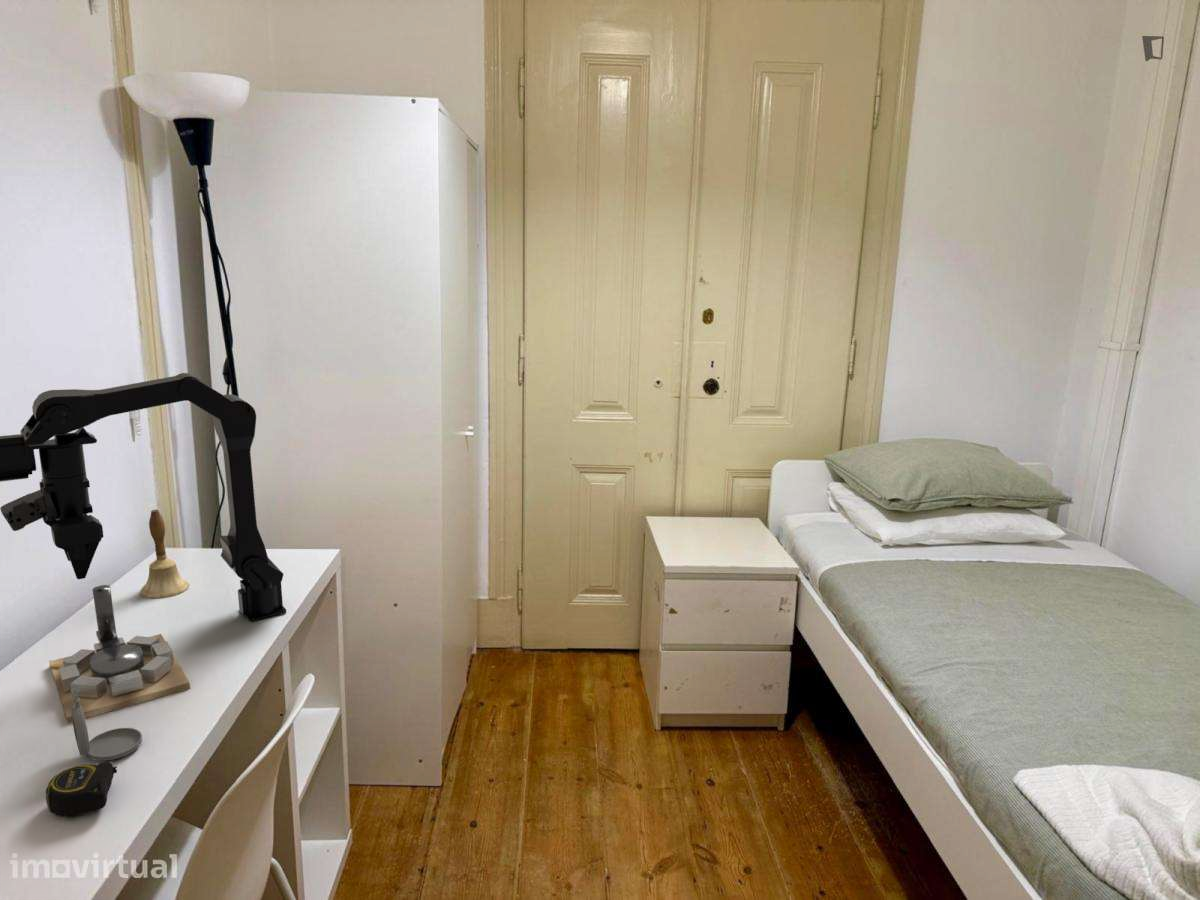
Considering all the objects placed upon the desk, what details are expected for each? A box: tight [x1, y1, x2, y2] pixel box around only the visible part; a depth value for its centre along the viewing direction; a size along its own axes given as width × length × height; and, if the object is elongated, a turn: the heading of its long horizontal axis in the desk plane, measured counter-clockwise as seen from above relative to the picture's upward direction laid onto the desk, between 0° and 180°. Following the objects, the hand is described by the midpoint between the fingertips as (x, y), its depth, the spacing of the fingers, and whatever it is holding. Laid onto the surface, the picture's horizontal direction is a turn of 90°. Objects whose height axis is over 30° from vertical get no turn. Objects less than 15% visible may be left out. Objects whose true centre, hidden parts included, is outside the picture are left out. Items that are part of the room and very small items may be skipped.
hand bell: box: [140, 509, 190, 599], centre depth 160 cm, size 8×8×16 cm
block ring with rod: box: [59, 584, 174, 698], centre depth 131 cm, size 15×18×11 cm
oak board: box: [49, 633, 191, 724], centre depth 132 cm, size 16×19×1 cm
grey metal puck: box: [90, 644, 144, 685], centre depth 131 cm, size 7×7×3 cm
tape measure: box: [45, 761, 118, 818], centre depth 104 cm, size 7×7×4 cm
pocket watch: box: [71, 689, 143, 762], centre depth 113 cm, size 8×8×10 cm
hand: (76, 569), depth 134 cm, fingers open, 9 cm apart
